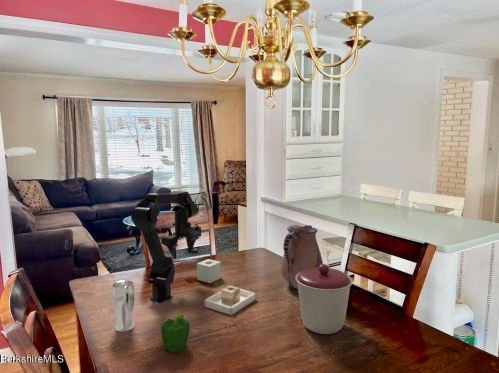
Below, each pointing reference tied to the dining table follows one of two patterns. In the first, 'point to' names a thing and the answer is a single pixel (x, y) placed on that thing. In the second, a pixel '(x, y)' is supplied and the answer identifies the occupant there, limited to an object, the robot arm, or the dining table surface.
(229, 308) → the tray
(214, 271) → the sage block
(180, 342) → the bell pepper
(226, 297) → the maple block
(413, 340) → the dining table surface
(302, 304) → the canister
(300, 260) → the ceramic pitcher
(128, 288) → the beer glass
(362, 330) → the dining table surface
